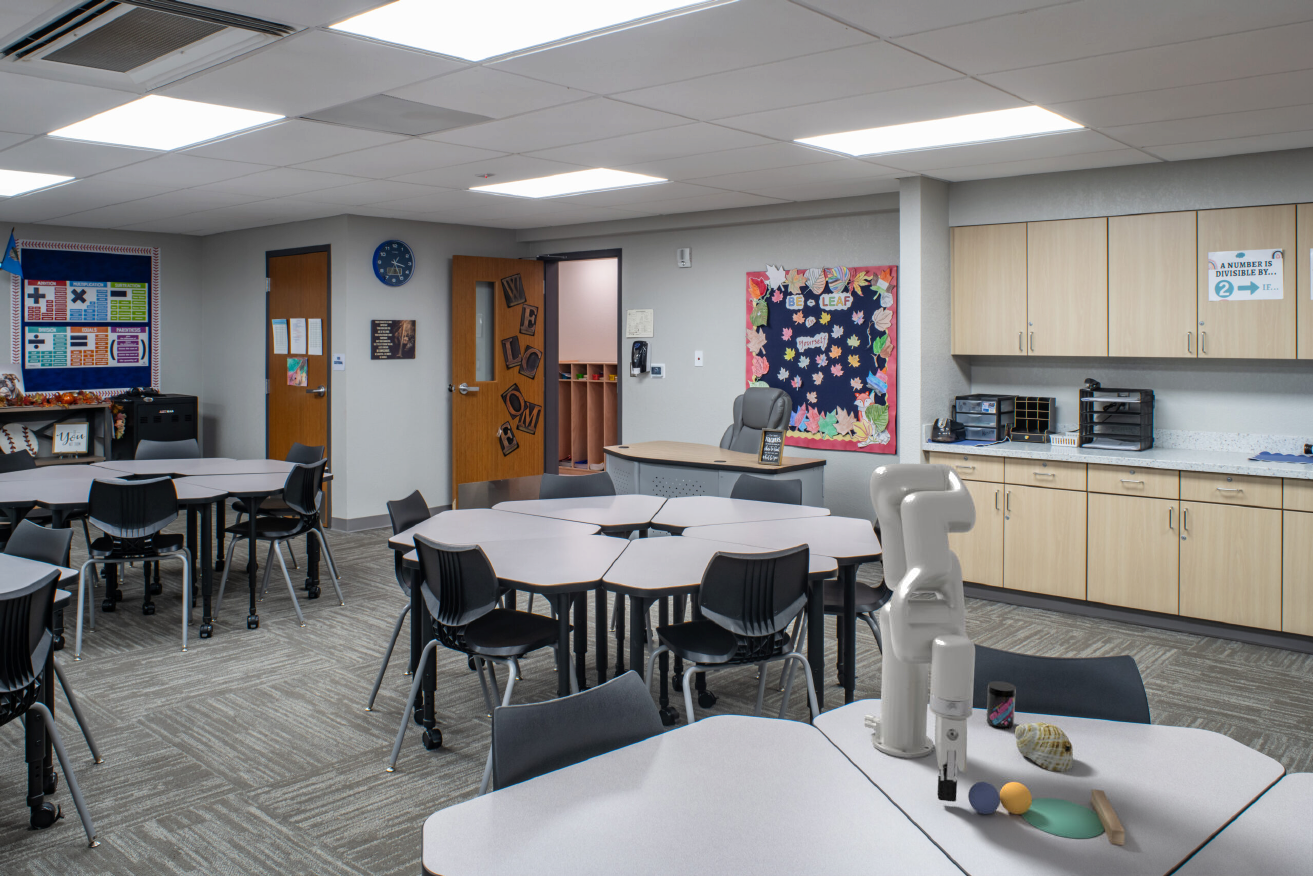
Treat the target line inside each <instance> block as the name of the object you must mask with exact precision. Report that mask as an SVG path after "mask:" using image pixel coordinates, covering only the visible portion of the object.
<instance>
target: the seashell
mask: <svg viewBox="0 0 1313 876" xmlns="http://www.w3.org/2000/svg"><path fill="white" fill-rule="evenodd" d="M1014 737H1015V739H1016V741H1015V742H1016V747H1017V750H1018V751H1019V753H1020V754H1021V755H1022V756H1023V757H1026V758H1029V759H1030V760H1031V761H1032V762H1033V763H1036V764H1037V765H1038V766H1040V767H1041V768H1043V769H1046V770H1048V771H1052V772H1056V771H1059V772H1068V771H1070V770H1071V769H1072V768H1073V766H1074V765H1073V764H1074V756H1073V755H1074V754H1073V751H1074V749H1073V744H1072V742H1071V741H1070V739H1069V736H1068V735H1067V734H1066V733H1065V732H1064V731H1063V730H1062V729H1061V728H1060V727H1058V726H1057V725H1054V724H1052V723H1048V722H1034V723H1029V722H1026V723H1024V724H1023V723H1022V724H1019V725H1017V726H1016V727H1015V732H1014Z"/></svg>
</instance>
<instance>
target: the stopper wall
mask: <svg viewBox="0 0 1313 876" xmlns="http://www.w3.org/2000/svg"><path fill="white" fill-rule="evenodd" d="M1090 793H1091V797H1090V798H1091V799H1090V803H1091V805H1092V808H1093V809H1094V812H1095V813H1097V814H1098V816H1099V818H1100V821H1101V823H1102V825H1103V827H1104V832H1105V834H1106V836H1107V838H1108V840H1109V842H1110V844H1111V845H1118V846H1119V845H1120V846H1125V837H1126V836H1125V833H1126V832H1125V829H1124V827H1123V825H1122V823H1121V821H1120V820H1119V817H1118V816H1117V814H1116V812H1115V810H1114V809H1113V807H1112V805H1111V803H1110V801H1109V799H1108V797H1107V795H1106V793H1105V791H1104V790H1102V789H1101V790H1100V789H1091V792H1090Z"/></svg>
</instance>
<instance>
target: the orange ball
mask: <svg viewBox="0 0 1313 876" xmlns="http://www.w3.org/2000/svg"><path fill="white" fill-rule="evenodd" d="M999 795H1000V804H1001V805H1002V806H1003V808H1004V809H1005V810H1006V811H1007V812H1008V813H1010V814H1013V815H1022V813H1025V812H1026V811H1028V809H1029V808H1030V806H1031V804H1032V800H1033V796H1032V794H1031V792H1030V790H1029V788H1028V787H1027V786H1025V785H1024V784H1023V783H1020V782H1017V781H1010V782H1007V783H1005V784H1004V785H1003V786H1002V788H1001V789H1000V792H999Z"/></svg>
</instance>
